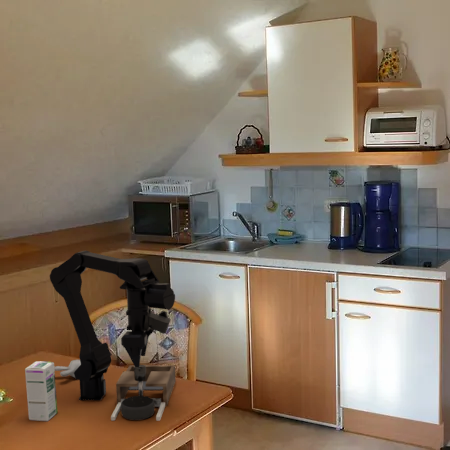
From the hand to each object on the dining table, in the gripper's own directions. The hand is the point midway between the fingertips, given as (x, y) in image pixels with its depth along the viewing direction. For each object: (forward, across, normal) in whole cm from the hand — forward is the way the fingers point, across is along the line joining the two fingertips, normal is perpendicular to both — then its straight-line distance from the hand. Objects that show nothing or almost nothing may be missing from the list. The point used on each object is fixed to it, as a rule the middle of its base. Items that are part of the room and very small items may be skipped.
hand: (140, 361), depth 188 cm
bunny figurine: (+13, +24, +24) cm, 36 cm away
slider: (+13, 0, 0) cm, 13 cm away
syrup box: (+13, -7, +26) cm, 30 cm away
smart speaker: (+13, -5, 0) cm, 14 cm away
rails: (+13, -4, 0) cm, 14 cm away
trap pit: (+13, +15, 0) cm, 20 cm away
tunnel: (+13, +10, 0) cm, 17 cm away
